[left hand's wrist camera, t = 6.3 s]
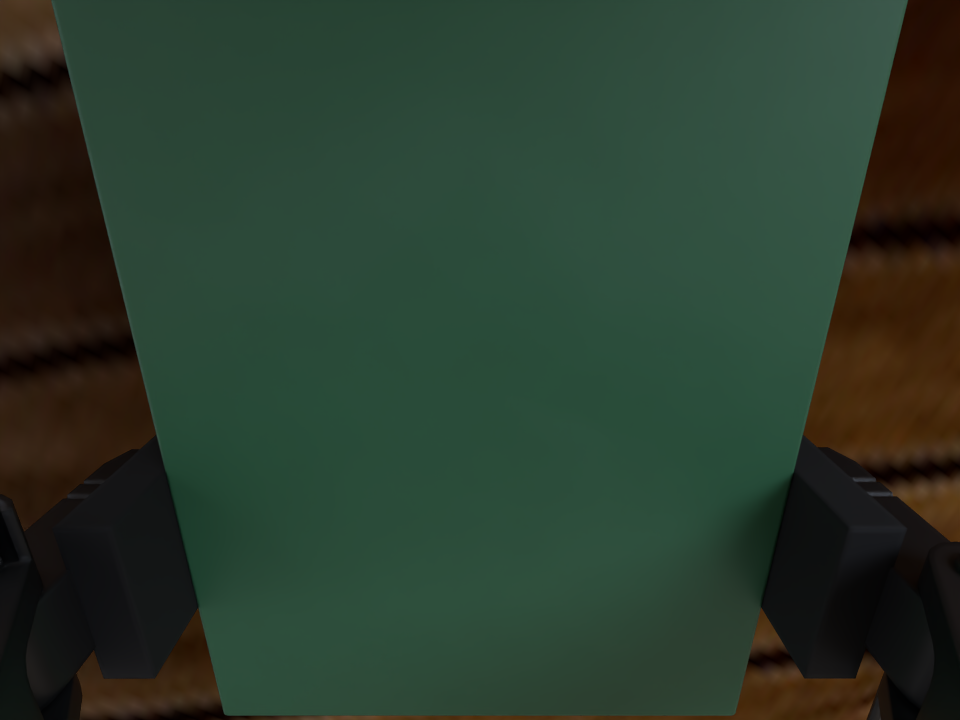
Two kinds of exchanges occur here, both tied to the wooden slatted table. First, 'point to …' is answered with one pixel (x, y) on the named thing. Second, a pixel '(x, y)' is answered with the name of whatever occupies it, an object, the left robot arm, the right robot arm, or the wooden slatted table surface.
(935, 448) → the wooden slatted table surface
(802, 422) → the cabinet
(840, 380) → the wooden slatted table surface
